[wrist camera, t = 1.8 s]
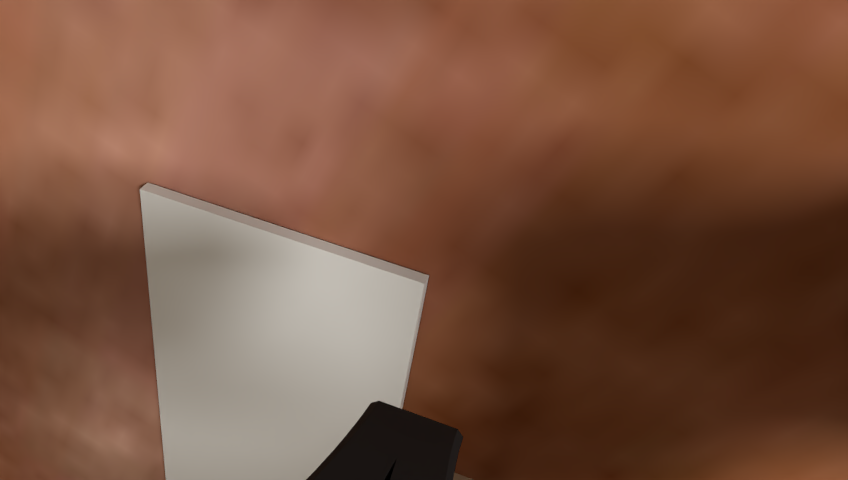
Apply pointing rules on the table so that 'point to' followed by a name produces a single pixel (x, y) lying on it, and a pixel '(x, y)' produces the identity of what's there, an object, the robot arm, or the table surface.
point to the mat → (267, 339)
